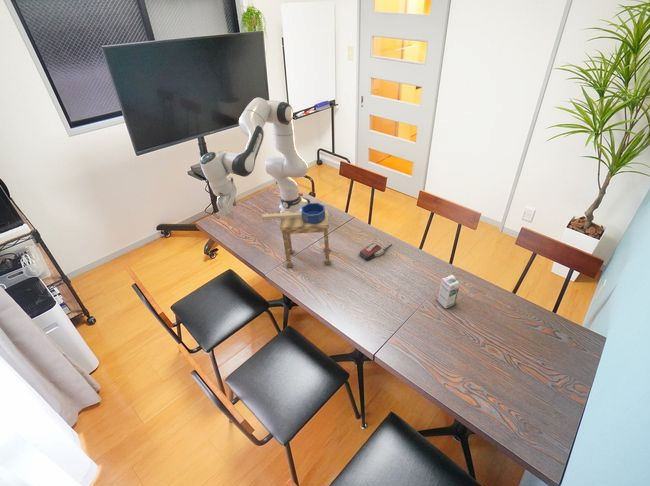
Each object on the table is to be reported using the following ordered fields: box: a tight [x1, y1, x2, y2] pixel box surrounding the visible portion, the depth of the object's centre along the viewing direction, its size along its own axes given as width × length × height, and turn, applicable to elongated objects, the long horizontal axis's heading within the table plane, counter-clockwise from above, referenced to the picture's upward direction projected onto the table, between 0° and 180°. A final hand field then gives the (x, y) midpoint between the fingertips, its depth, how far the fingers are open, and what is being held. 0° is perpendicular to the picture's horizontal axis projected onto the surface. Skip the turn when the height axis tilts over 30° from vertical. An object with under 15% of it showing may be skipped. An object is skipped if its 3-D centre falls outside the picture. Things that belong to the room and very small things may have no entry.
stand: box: [279, 208, 331, 268], centre depth 169 cm, size 23×14×26 cm, turn 96°
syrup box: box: [437, 274, 461, 309], centre depth 147 cm, size 6×6×14 cm
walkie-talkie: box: [359, 242, 393, 261], centre depth 180 cm, size 9×4×20 cm
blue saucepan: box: [261, 202, 326, 224], centre depth 160 cm, size 30×11×5 cm, turn 96°
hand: (233, 211), depth 158 cm, fingers open, 8 cm apart
